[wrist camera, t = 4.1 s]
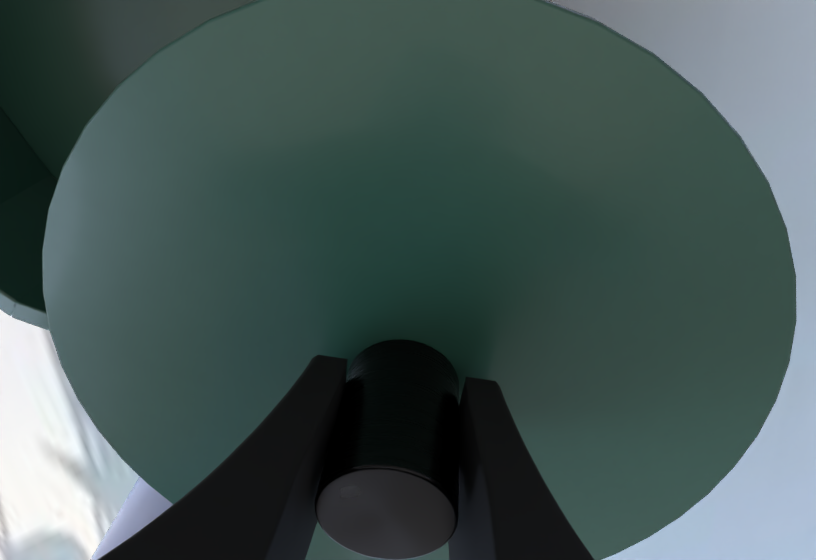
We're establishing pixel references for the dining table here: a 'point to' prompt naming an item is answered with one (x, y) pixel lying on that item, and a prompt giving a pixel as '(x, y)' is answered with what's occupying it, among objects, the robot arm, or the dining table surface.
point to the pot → (64, 107)
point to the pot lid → (423, 261)
